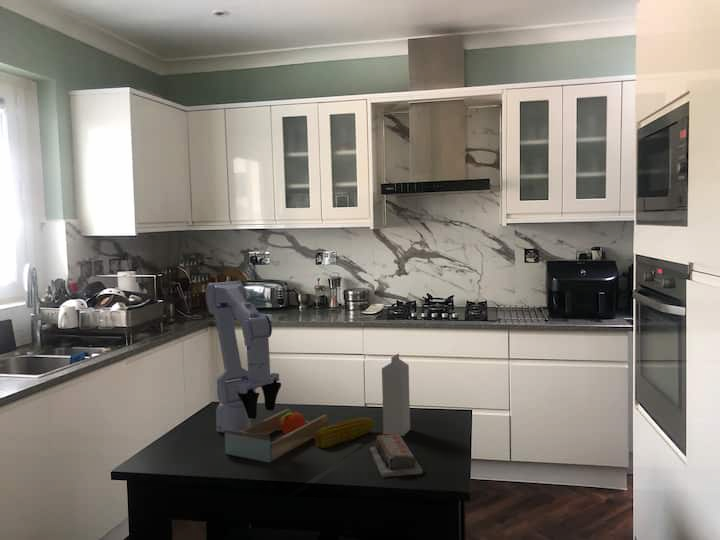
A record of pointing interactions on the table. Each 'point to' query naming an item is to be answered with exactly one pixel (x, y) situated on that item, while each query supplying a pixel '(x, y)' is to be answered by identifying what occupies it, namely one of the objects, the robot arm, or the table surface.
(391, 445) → the packaged product
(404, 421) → the milk
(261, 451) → the panel
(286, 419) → the clementine
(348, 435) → the food
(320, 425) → the crate
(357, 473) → the table surface
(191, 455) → the table surface
